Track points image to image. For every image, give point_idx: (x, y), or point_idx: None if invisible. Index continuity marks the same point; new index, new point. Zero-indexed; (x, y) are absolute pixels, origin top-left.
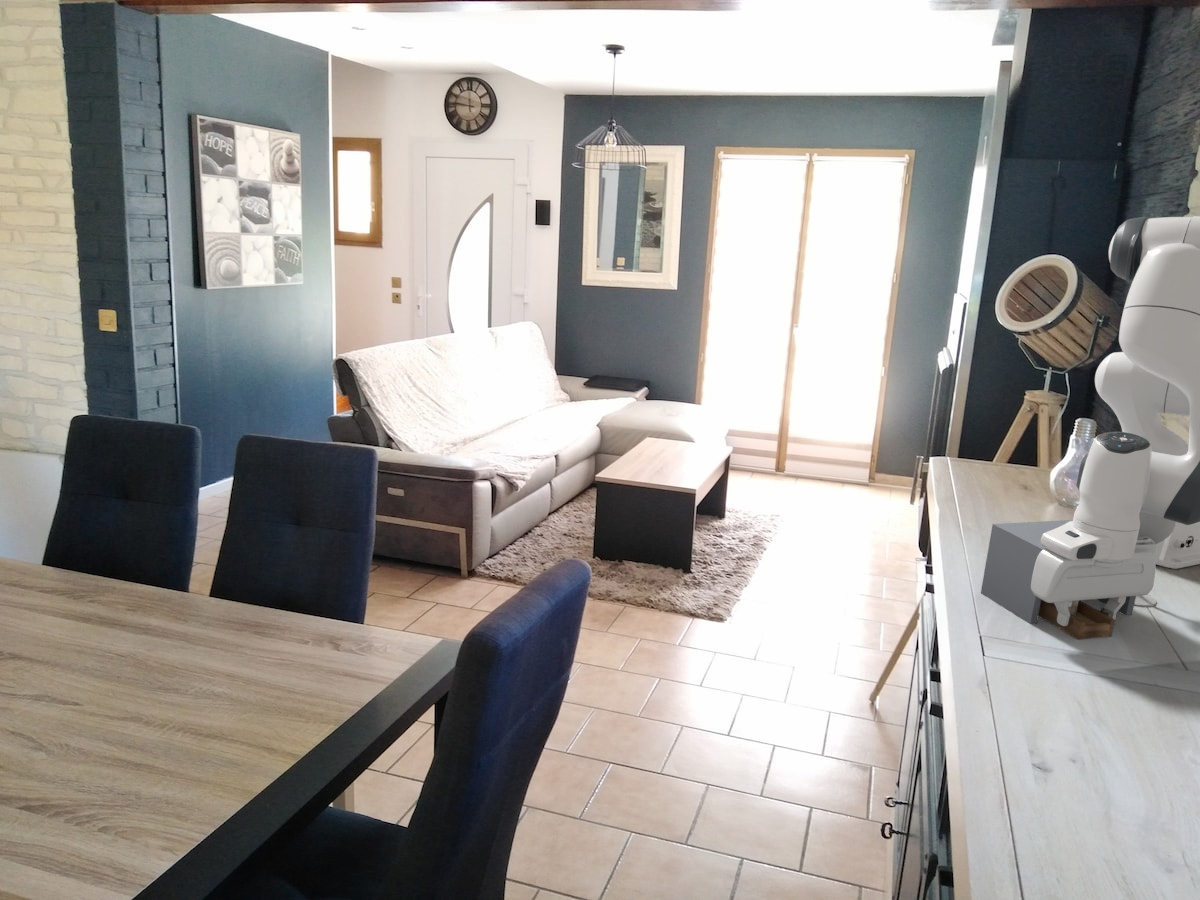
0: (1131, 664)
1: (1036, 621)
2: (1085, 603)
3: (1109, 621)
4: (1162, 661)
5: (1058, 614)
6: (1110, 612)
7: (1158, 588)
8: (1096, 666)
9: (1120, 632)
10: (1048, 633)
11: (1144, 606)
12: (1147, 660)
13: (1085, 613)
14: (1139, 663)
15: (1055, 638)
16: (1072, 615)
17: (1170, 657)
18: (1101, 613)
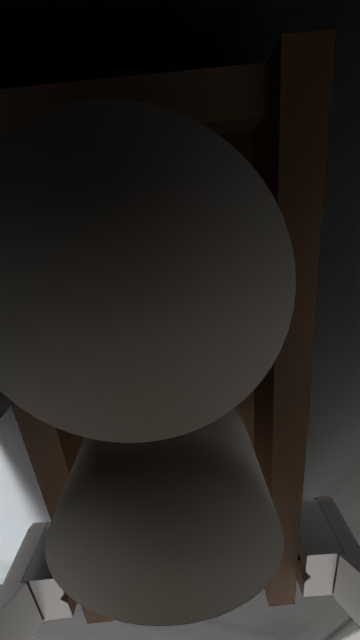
0: (182, 629)
1: (3, 411)
2: (303, 455)
3: (266, 587)
4: (292, 620)
5: (11, 569)
6: (318, 594)
7: None
8: (65, 635)
9: (338, 482)
10: (22, 478)
11: None
12: (251, 616)
13: (258, 455)
14: (211, 626)
15: (29, 510)
16: (65, 612)
17: (340, 606)
18: (283, 557)
